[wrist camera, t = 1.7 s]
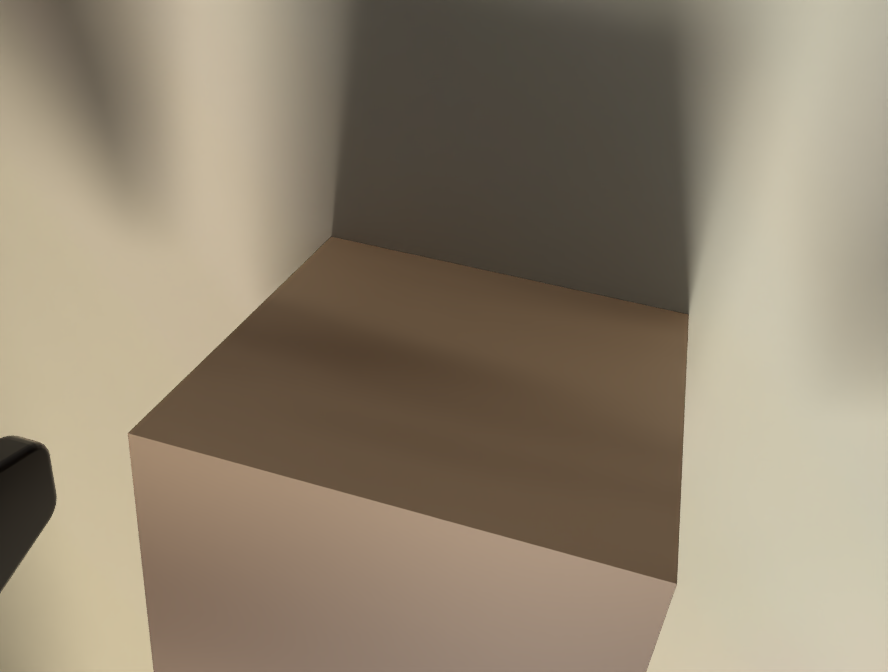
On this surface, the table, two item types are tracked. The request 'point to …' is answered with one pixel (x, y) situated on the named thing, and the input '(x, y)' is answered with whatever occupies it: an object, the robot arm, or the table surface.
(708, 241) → the table surface
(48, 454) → the robot arm
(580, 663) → the walnut cube
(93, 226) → the table surface
